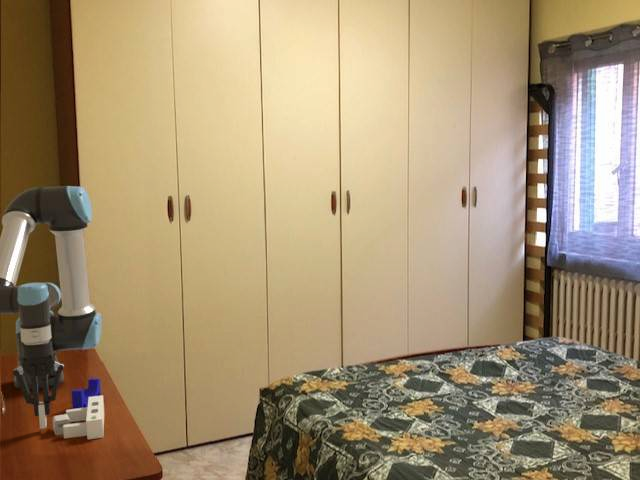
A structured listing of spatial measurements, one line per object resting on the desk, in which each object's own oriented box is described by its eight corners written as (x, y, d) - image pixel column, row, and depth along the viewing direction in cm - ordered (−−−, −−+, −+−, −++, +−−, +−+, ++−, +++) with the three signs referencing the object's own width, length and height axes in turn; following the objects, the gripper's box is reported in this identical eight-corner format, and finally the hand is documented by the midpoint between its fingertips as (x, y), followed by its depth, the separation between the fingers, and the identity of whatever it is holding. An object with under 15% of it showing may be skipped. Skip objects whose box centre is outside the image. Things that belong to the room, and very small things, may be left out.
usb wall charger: (55, 435, 190) (53, 421, 190) (52, 427, 196) (51, 413, 196) (70, 433, 192) (69, 418, 191) (67, 424, 198) (66, 410, 198)
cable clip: (87, 397, 221) (86, 378, 220) (101, 397, 220) (99, 378, 220) (68, 410, 209) (66, 391, 209) (82, 411, 209) (81, 391, 208)
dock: (67, 416, 204) (66, 398, 204) (104, 411, 207) (103, 394, 206) (63, 442, 185) (61, 423, 184) (103, 437, 188) (102, 418, 187)
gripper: (8, 347, 185) (15, 435, 188) (61, 342, 188) (68, 428, 191) (12, 340, 192) (19, 425, 195) (63, 335, 195) (69, 418, 198)
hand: (43, 426), depth 193 cm, fingers closed
